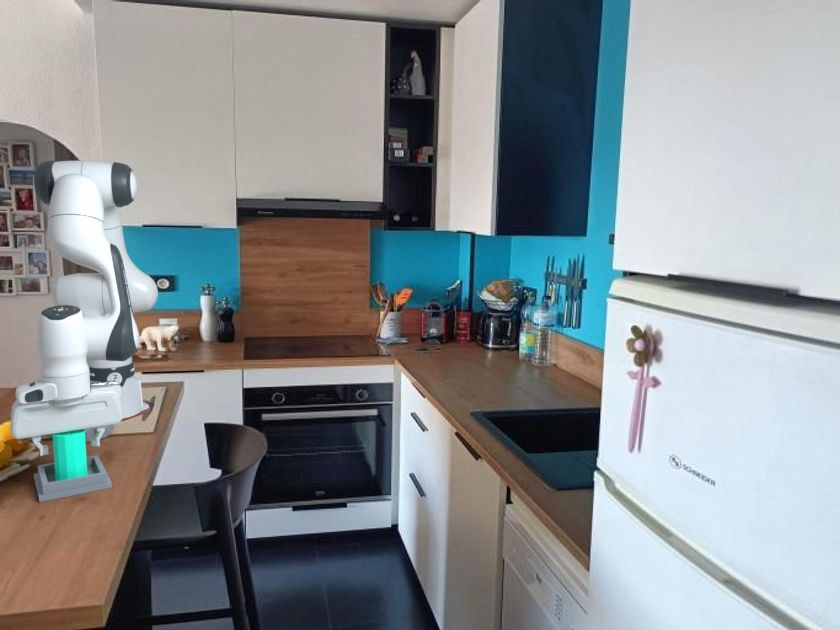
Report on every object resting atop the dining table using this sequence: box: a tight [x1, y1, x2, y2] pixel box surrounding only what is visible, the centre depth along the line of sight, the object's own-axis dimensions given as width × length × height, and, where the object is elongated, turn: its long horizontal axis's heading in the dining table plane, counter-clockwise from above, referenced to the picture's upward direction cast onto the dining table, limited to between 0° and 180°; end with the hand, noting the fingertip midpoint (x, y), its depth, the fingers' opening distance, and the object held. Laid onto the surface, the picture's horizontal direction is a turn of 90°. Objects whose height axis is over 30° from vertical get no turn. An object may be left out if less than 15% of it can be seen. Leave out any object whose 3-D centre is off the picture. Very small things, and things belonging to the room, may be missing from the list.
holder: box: [33, 454, 113, 503], centre depth 135 cm, size 13×13×3 cm
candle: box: [51, 429, 87, 481], centre depth 134 cm, size 6×6×12 cm
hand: (70, 450), depth 134 cm, fingers open, 8 cm apart
